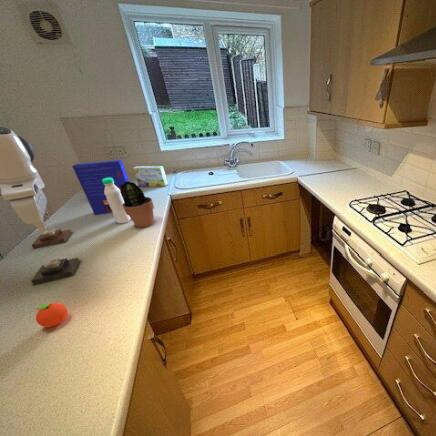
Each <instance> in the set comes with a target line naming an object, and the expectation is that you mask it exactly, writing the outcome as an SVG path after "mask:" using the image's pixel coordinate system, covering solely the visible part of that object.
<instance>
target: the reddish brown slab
mask: <svg viewBox="0 0 436 436" xmlns="http://www.w3.org/2000/svg"><path fill="white" fill-rule="evenodd" d="M55 230H56V233H55V234H54V235H50V236H43V233H42V234H40V235H39V236H38V237H37V238H36V239H35V240H34V241H33V242H32V243H31V247H32V248H33V250H36V249H41V248H45V247H50V246H56V245H59V244H65V243H67V242H68V239H70V237H71V236H72V234H73V232H72V230H71V229H65V230H62V229H61V228H59V229H55Z"/></svg>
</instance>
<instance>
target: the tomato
mask: <svg viewBox="0 0 436 436" xmlns="http://www.w3.org/2000/svg"><path fill="white" fill-rule="evenodd" d="M67 315H68V308H67V307H66V305H65V304H63V303H61V302H51V303H47V304H42V305H40V306H39V307H38V308H37V313H36V314H35V321H36V323H37V324H38V326H41V327H44V328H50V327H55V326H57V325H59V324H61V323H62V322H63V321H64V320H65V319H66V317H67Z"/></svg>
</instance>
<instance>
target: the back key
mask: <svg viewBox="0 0 436 436" xmlns="http://www.w3.org/2000/svg"><path fill="white" fill-rule="evenodd" d="M56 230H57V229H55V228H51V229H47V230H46V231H43V232H42V234H43V236H50V235H54V234H55V233H56Z"/></svg>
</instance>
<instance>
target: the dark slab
mask: <svg viewBox="0 0 436 436" xmlns="http://www.w3.org/2000/svg"><path fill="white" fill-rule="evenodd" d="M60 260H61V263H60V265H59V266H58V267H54V268H49V269H46V268H45V265H46V263H45V264H43V265H41V266H40V268H39V269H38V271H37V272H36V273H35V274H34V276H33V277H32V279H31V280H30V282H31V283H32V284H33V286H37V285H39V284H44V283H48V282H52V281H57V280H60V279H65V278H69V277H72V276H74V274H75V272H76V270H77V269H78V267H79V265H80V263H81V261H80V258H79V257H74V258H70V259H69V258H67V257H65V258H60Z"/></svg>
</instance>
